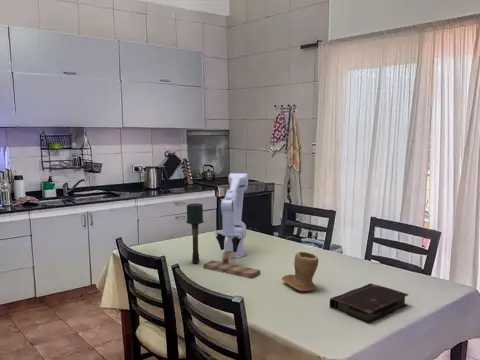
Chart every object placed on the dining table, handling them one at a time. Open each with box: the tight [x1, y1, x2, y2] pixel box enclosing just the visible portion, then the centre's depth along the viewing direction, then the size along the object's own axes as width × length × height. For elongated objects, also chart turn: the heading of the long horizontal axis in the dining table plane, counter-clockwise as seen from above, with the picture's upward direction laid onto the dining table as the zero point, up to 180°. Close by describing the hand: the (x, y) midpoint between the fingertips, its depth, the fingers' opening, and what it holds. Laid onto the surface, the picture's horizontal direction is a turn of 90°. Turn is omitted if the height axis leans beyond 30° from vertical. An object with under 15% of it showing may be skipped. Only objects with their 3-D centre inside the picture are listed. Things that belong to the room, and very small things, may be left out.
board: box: [202, 260, 261, 279], centre depth 207 cm, size 28×7×2 cm, turn 57°
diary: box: [329, 283, 409, 324], centre depth 165 cm, size 19×25×5 cm
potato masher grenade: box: [186, 202, 205, 264], centre depth 218 cm, size 8×9×30 cm
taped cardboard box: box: [222, 251, 236, 265], centre depth 216 cm, size 4×5×6 cm
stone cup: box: [281, 251, 319, 292], centre depth 186 cm, size 15×12×15 cm
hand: (228, 250), depth 215 cm, fingers open, 7 cm apart
